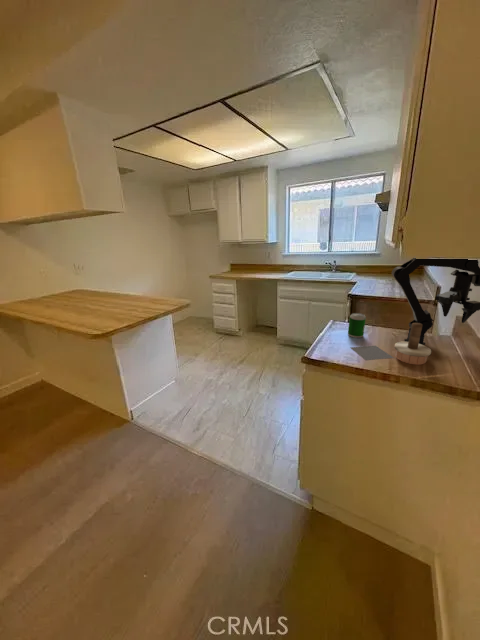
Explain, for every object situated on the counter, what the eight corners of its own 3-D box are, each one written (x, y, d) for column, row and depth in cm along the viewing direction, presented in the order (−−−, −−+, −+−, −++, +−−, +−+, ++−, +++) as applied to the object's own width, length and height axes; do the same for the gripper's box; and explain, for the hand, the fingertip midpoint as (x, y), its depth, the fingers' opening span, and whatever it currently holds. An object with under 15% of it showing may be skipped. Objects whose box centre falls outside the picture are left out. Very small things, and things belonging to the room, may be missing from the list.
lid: (387, 344, 117) (391, 320, 114) (414, 342, 119) (419, 318, 115) (409, 357, 105) (414, 330, 101) (438, 355, 106) (445, 328, 103)
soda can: (361, 340, 134) (364, 317, 130) (345, 337, 138) (348, 315, 134) (364, 335, 139) (367, 314, 135) (350, 332, 144) (352, 311, 140)
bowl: (389, 354, 118) (391, 345, 116) (412, 352, 119) (414, 343, 118) (407, 366, 107) (409, 356, 106) (432, 364, 109) (434, 354, 107)
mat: (349, 348, 125) (349, 347, 125) (375, 346, 126) (375, 345, 126) (365, 361, 112) (365, 360, 112) (393, 359, 114) (393, 357, 114)
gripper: (428, 282, 124) (421, 314, 129) (465, 291, 107) (456, 327, 112) (449, 281, 126) (442, 313, 131) (489, 289, 108) (479, 325, 113)
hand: (453, 319), depth 121 cm, fingers open, 9 cm apart
